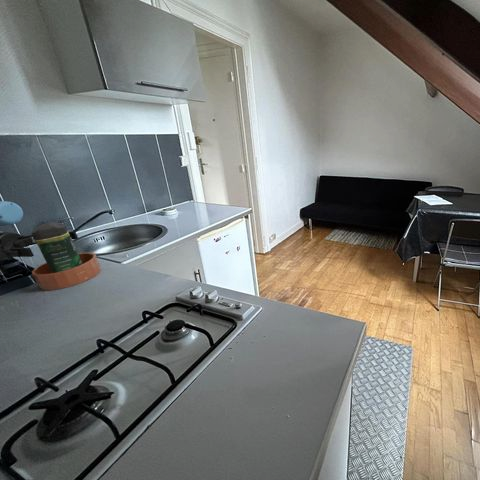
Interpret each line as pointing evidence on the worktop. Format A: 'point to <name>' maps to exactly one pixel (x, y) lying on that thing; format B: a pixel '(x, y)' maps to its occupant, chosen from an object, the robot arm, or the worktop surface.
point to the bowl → (67, 273)
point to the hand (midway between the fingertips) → (54, 243)
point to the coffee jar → (56, 246)
